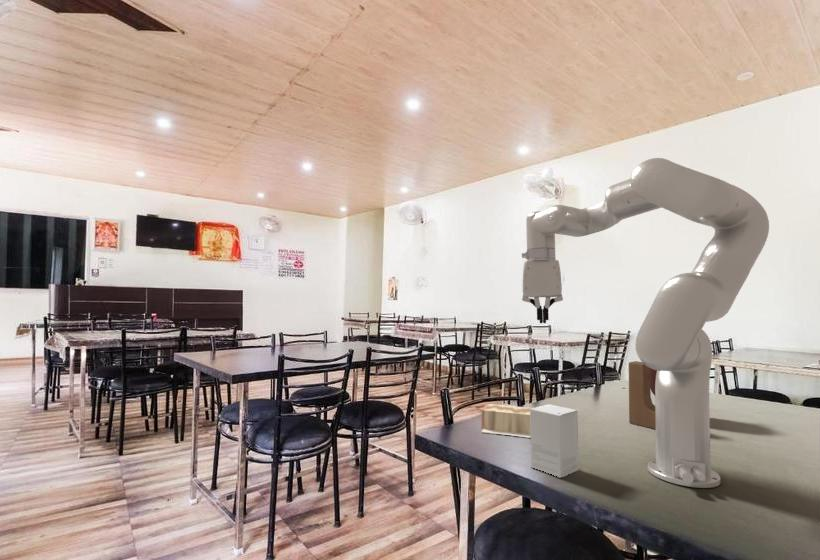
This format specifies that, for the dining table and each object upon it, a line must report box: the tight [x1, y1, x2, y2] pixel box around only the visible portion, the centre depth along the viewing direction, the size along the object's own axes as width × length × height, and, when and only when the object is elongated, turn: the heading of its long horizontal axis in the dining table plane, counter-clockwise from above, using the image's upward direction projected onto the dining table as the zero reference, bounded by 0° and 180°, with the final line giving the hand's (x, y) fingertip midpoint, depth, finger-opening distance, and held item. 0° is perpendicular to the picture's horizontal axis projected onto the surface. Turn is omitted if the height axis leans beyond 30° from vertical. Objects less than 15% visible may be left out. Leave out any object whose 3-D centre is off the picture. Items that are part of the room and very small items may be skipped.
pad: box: [481, 429, 531, 439], centre depth 119 cm, size 14×14×1 cm
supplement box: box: [530, 403, 579, 479], centre depth 91 cm, size 7×7×13 cm
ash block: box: [481, 403, 533, 434], centre depth 119 cm, size 8×5×16 cm
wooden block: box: [628, 360, 656, 430], centre depth 124 cm, size 9×4×18 cm, turn 38°
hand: (542, 322), depth 117 cm, fingers closed
